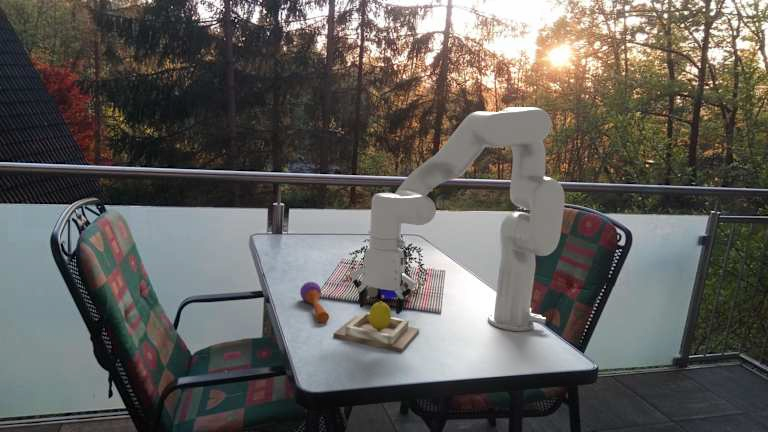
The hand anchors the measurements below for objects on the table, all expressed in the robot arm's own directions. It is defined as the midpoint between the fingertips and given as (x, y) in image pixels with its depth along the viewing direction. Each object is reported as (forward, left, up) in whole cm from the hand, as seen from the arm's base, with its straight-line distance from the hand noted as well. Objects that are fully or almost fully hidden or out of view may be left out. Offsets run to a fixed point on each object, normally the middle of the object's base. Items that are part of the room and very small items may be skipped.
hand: (380, 309), depth 139 cm
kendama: (+22, -7, -7) cm, 24 cm away
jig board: (0, 0, -7) cm, 7 cm away
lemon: (0, 0, -6) cm, 6 cm away
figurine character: (+7, -27, -7) cm, 29 cm away
